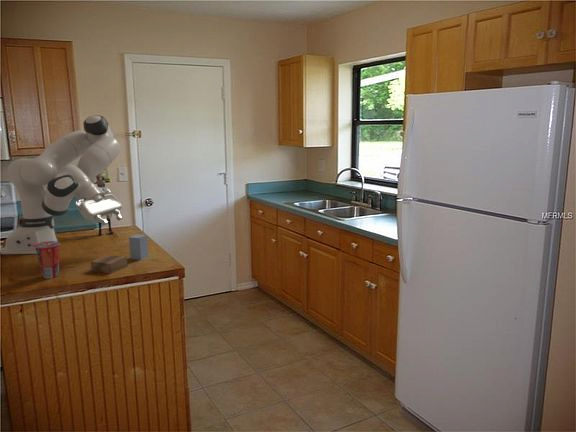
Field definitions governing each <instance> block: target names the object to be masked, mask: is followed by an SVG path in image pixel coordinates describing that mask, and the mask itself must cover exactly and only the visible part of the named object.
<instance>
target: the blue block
mask: <svg viewBox="0 0 576 432" xmlns="http://www.w3.org/2000/svg"><path fill="white" fill-rule="evenodd" d="M128 243H129V244H128V245H129V255H130V260H139V261H142V260H144V259H147V258H148V257H149V243H148V235H147V234H137V233H136V234H133V235H131V236H129V237H128Z"/></svg>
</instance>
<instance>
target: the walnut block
mask: <svg viewBox="0 0 576 432" xmlns="http://www.w3.org/2000/svg"><path fill="white" fill-rule="evenodd" d="M90 267H91V268H90V269H91V272H96V273H104V274H105V273H106V274H114V273H115V272H117V271H120V270H122V269H124V268H127V267H128V258H127V256H119V255H112V254H107V255H104V256H101V257H99V258H96V259H94V260H91V261H90Z"/></svg>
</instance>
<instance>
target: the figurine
mask: <svg viewBox="0 0 576 432" xmlns="http://www.w3.org/2000/svg"><path fill="white" fill-rule="evenodd" d="M99 174H100V173H99ZM99 174H98V175H97V176H96V177H95V178H96V180H97V181H96V186H97V187H100V188H106V181H107V177H106V176H105V175H103V176H101V178H100V175H99ZM105 180H106V181H105ZM112 215H113V213H112V214H109V215H105V216H106V218H105V219H106V221H107V222H108V224H107V225H108V232H109V235H114V232H113V230H112V223H111V218H112ZM102 217H103V216H102ZM102 217H101V218H102ZM102 219H103V218H102ZM97 222H98V221H97ZM102 235H103V233H102V224H101V223H100V222H98V237H99V236H102Z"/></svg>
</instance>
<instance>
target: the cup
mask: <svg viewBox="0 0 576 432" xmlns="http://www.w3.org/2000/svg"><path fill="white" fill-rule="evenodd" d="M30 246H31V247H35V249H36V252H37V254H36V255H37V260H38V263H39V267H40V270H41V275H42V277H43V279H54V278H57V277H58V276H59V275H60V251H61V250H60V246H61V241H58V240H57V241H47V242H41V243H37V244H33V245H30Z"/></svg>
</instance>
